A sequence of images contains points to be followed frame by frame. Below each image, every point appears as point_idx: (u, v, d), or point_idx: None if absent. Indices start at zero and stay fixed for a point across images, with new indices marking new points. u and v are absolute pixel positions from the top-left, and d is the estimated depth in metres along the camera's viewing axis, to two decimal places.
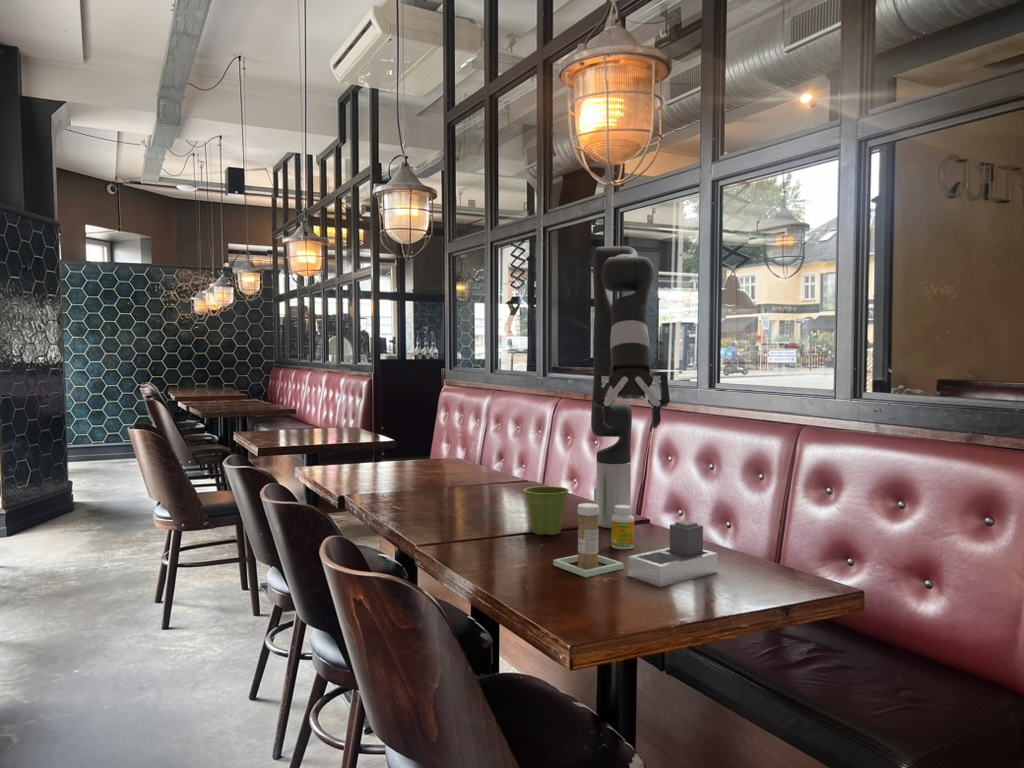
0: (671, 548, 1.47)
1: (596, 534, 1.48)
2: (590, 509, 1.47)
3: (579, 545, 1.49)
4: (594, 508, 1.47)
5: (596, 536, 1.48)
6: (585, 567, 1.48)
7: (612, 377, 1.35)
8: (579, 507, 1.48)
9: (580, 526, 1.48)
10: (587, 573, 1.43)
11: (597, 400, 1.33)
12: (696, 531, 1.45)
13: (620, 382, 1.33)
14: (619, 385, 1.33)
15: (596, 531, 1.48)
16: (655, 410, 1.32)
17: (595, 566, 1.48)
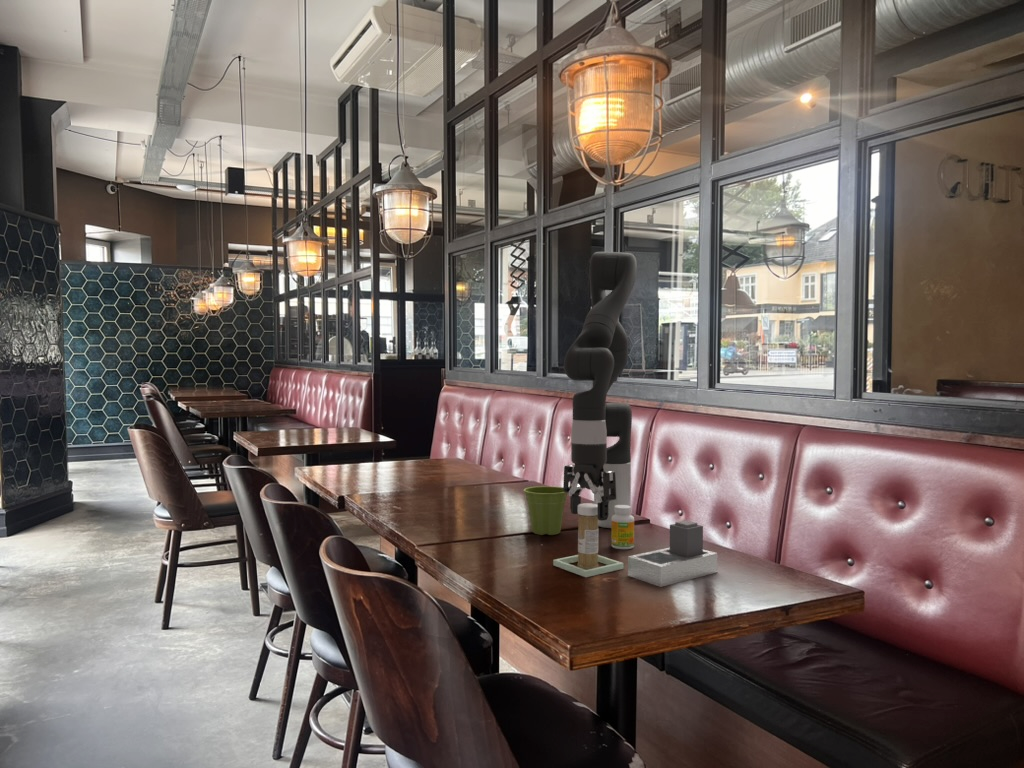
0: (671, 548, 1.47)
1: (596, 534, 1.48)
2: (590, 509, 1.47)
3: (579, 545, 1.49)
4: (594, 508, 1.47)
5: (596, 536, 1.48)
6: (585, 567, 1.48)
7: (574, 470, 1.51)
8: (579, 507, 1.48)
9: (580, 526, 1.48)
10: (587, 573, 1.43)
11: (564, 490, 1.54)
12: (696, 531, 1.45)
13: (575, 477, 1.50)
14: (575, 479, 1.50)
15: (596, 531, 1.48)
16: (598, 506, 1.45)
17: (595, 566, 1.48)
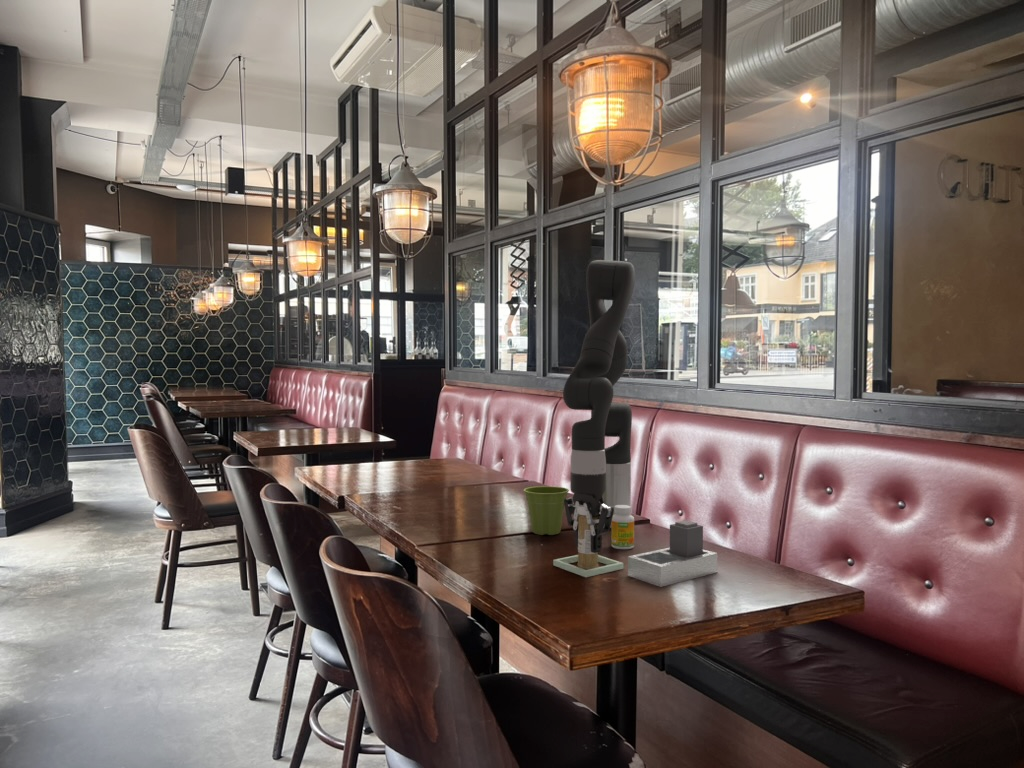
0: (671, 548, 1.47)
1: None
2: (590, 509, 1.47)
3: (579, 545, 1.49)
4: None
5: None
6: (585, 567, 1.48)
7: (573, 499, 1.52)
8: (579, 507, 1.48)
9: (580, 526, 1.48)
10: (587, 573, 1.43)
11: (569, 523, 1.53)
12: (696, 531, 1.45)
13: (575, 507, 1.50)
14: (576, 510, 1.50)
15: None
16: (592, 538, 1.47)
17: (595, 566, 1.48)
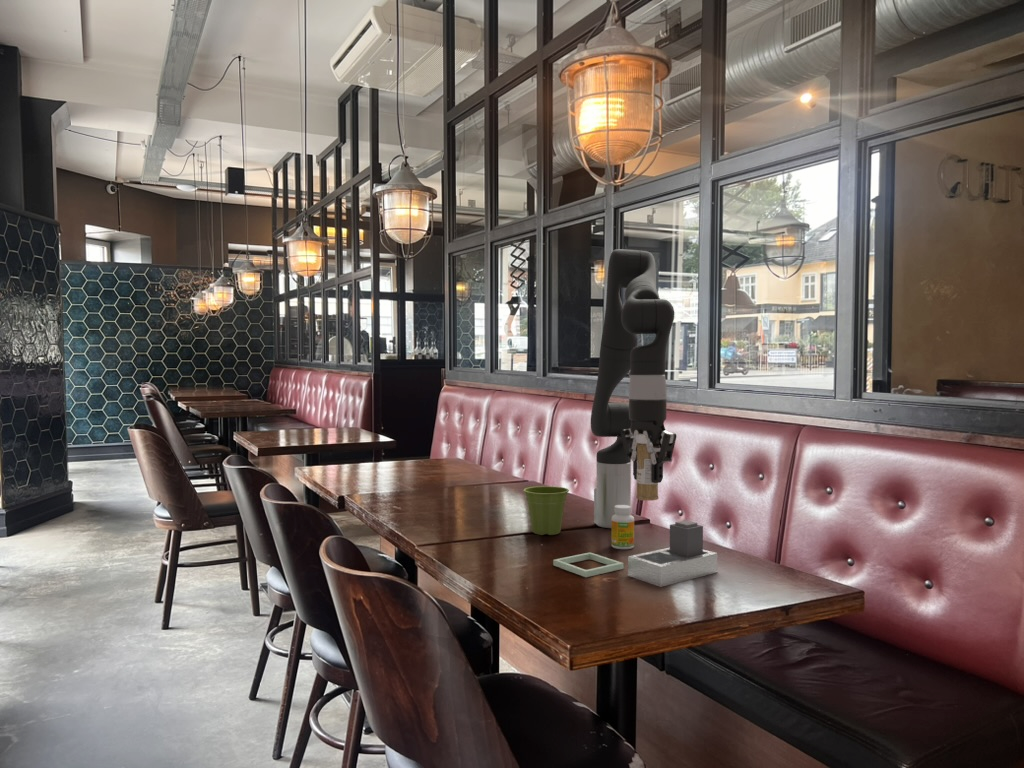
0: (671, 548, 1.47)
1: None
2: None
3: (638, 476, 1.42)
4: None
5: None
6: (645, 498, 1.40)
7: (631, 429, 1.45)
8: (638, 435, 1.41)
9: (639, 455, 1.41)
10: (587, 573, 1.43)
11: (626, 455, 1.46)
12: (696, 531, 1.45)
13: (634, 436, 1.43)
14: (635, 439, 1.43)
15: None
16: (653, 468, 1.40)
17: (655, 497, 1.41)
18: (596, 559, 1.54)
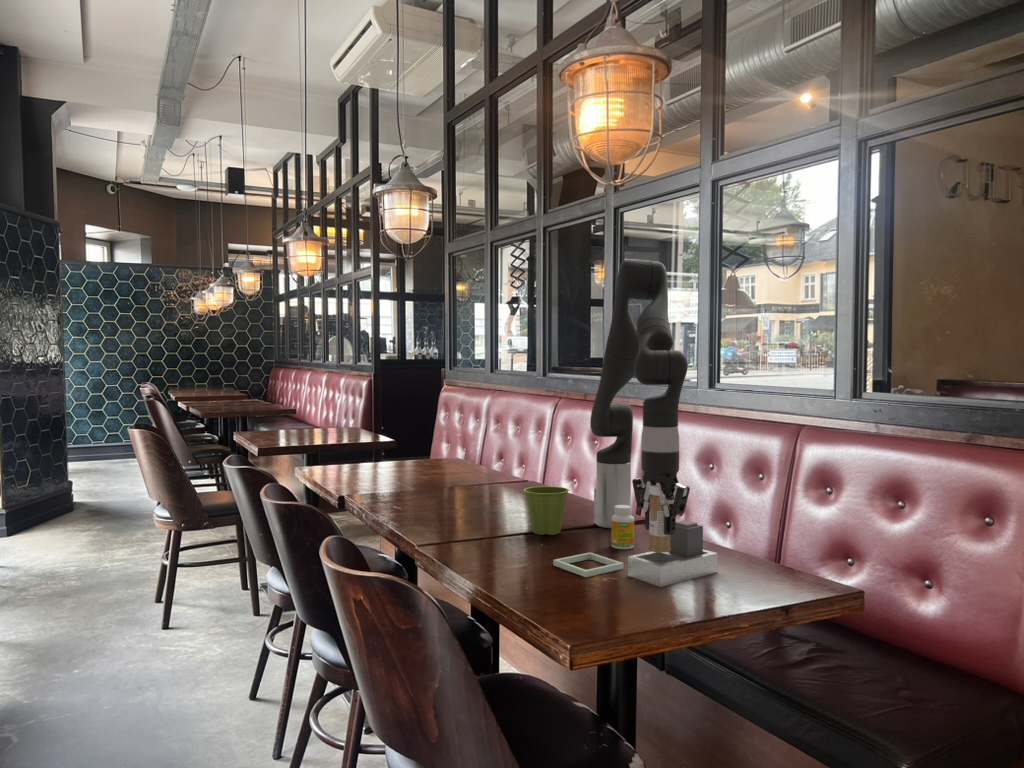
0: (671, 548, 1.47)
1: None
2: None
3: (651, 527, 1.41)
4: None
5: None
6: (658, 550, 1.40)
7: (643, 479, 1.44)
8: (651, 487, 1.41)
9: (652, 507, 1.41)
10: (587, 573, 1.43)
11: (638, 505, 1.45)
12: (696, 531, 1.45)
13: (646, 487, 1.42)
14: (647, 490, 1.42)
15: None
16: (665, 520, 1.39)
17: (668, 549, 1.40)
18: (596, 559, 1.54)
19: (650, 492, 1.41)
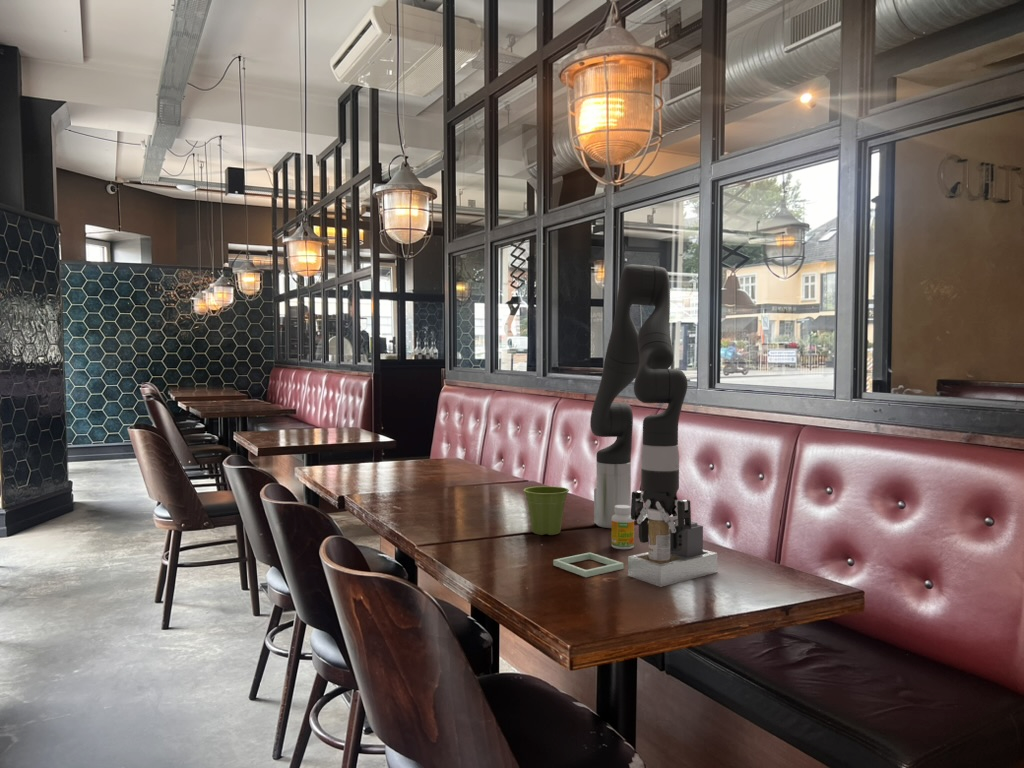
0: None
1: (668, 539, 1.41)
2: None
3: (650, 551, 1.41)
4: None
5: (668, 542, 1.41)
6: None
7: (643, 496, 1.44)
8: (649, 511, 1.41)
9: (651, 531, 1.41)
10: (587, 573, 1.43)
11: (632, 517, 1.46)
12: (696, 531, 1.45)
13: (645, 504, 1.43)
14: (645, 507, 1.43)
15: (668, 537, 1.41)
16: (672, 536, 1.38)
17: None
18: (596, 559, 1.54)
19: (649, 516, 1.41)
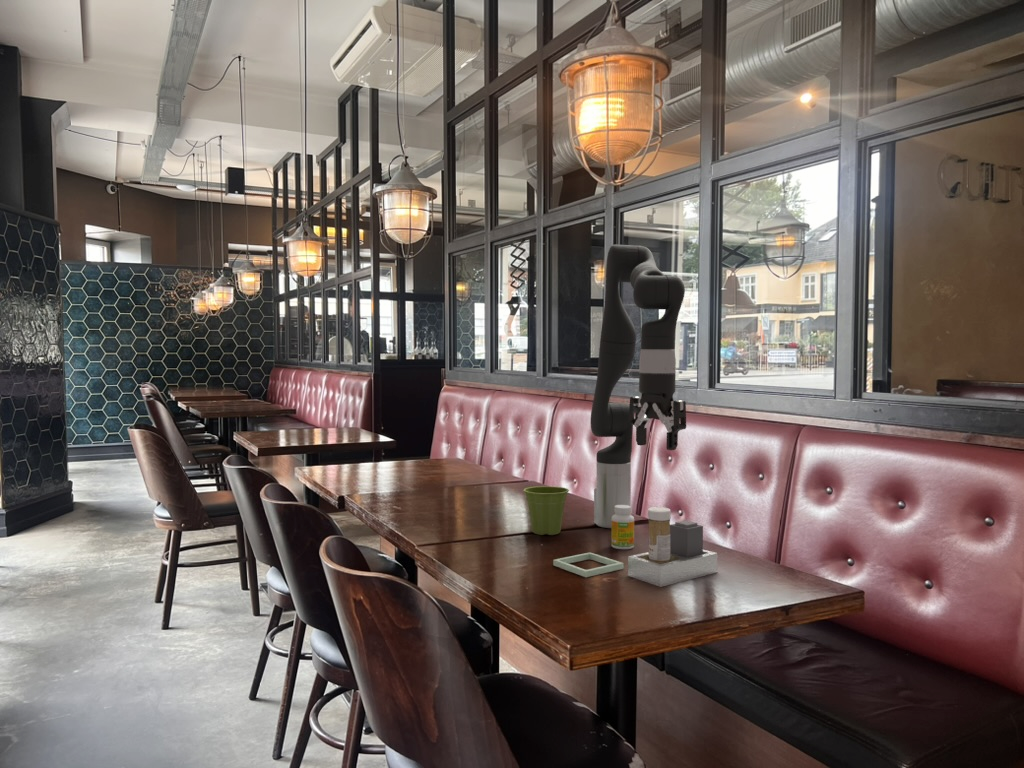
0: (671, 548, 1.47)
1: (668, 540, 1.41)
2: (662, 513, 1.39)
3: (650, 551, 1.41)
4: (666, 512, 1.40)
5: (668, 542, 1.41)
6: None
7: (640, 400, 1.50)
8: (650, 512, 1.41)
9: (651, 531, 1.41)
10: (587, 573, 1.43)
11: (630, 421, 1.52)
12: (696, 531, 1.45)
13: (643, 407, 1.48)
14: (642, 410, 1.48)
15: (668, 537, 1.40)
16: (668, 435, 1.43)
17: None
18: (596, 559, 1.54)
19: (649, 516, 1.41)
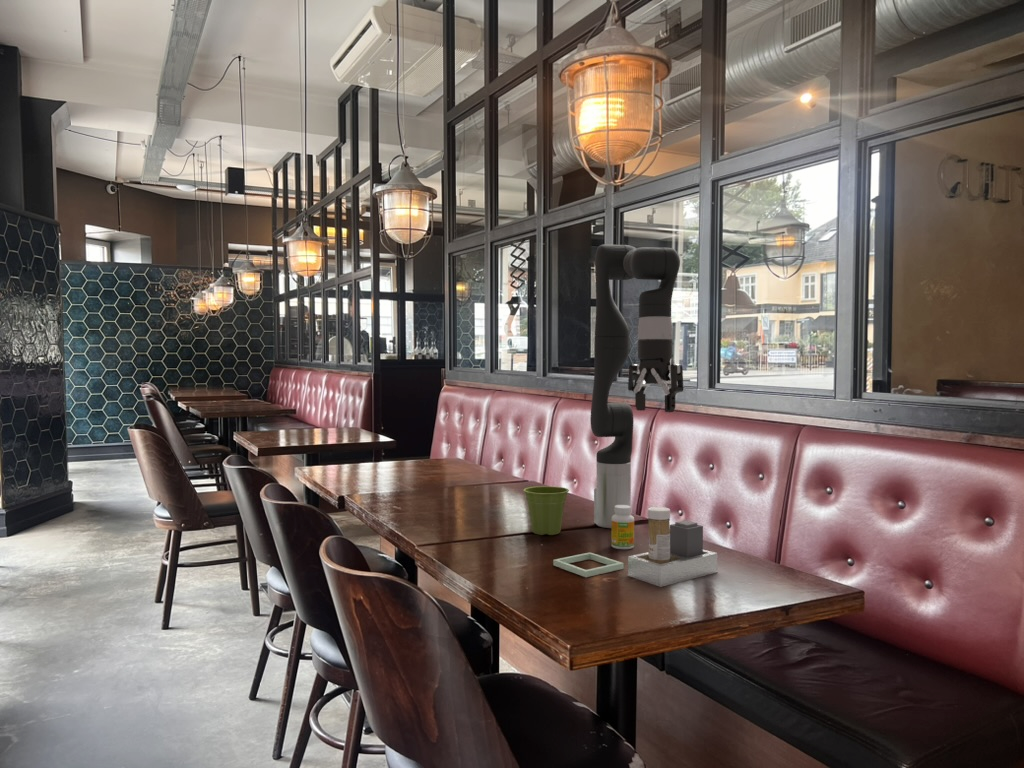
0: (671, 548, 1.47)
1: (668, 539, 1.41)
2: (662, 513, 1.40)
3: (650, 551, 1.41)
4: (666, 512, 1.40)
5: (668, 541, 1.41)
6: None
7: (639, 367, 1.57)
8: (650, 511, 1.41)
9: (651, 531, 1.41)
10: (587, 573, 1.43)
11: (629, 388, 1.59)
12: (696, 531, 1.45)
13: (642, 373, 1.55)
14: (641, 376, 1.56)
15: (668, 536, 1.41)
16: (666, 398, 1.51)
17: None
18: (596, 559, 1.54)
19: (649, 516, 1.41)
